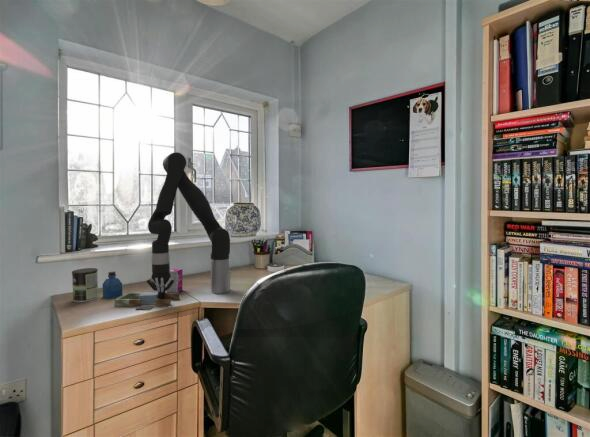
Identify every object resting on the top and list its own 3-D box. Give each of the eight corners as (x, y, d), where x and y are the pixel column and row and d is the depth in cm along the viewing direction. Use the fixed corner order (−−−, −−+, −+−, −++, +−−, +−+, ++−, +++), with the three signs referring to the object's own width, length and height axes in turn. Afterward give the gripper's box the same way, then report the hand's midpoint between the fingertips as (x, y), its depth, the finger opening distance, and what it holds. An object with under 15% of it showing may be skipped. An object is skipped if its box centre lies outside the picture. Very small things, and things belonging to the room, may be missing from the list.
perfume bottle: (109, 298, 149) (108, 274, 149) (103, 296, 153) (102, 272, 152) (122, 295, 155) (121, 271, 154) (115, 293, 158) (115, 270, 157)
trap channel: (183, 296, 153) (183, 290, 153) (165, 310, 133) (165, 303, 133) (133, 295, 153) (133, 290, 153) (108, 309, 133) (108, 303, 133)
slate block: (160, 300, 147) (160, 291, 146) (156, 303, 142) (156, 295, 141) (143, 300, 146) (143, 292, 146) (138, 304, 141) (138, 295, 141)
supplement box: (176, 293, 158) (176, 271, 157) (166, 292, 159) (165, 270, 158) (183, 290, 163) (182, 268, 163) (173, 289, 164) (172, 268, 164)
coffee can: (72, 303, 142) (71, 273, 141) (72, 298, 150) (71, 269, 149) (99, 299, 148) (98, 270, 147) (97, 294, 156) (96, 267, 155)
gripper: (178, 260, 145) (179, 296, 146) (150, 260, 145) (151, 296, 146) (171, 263, 138) (172, 301, 139) (142, 264, 138) (143, 302, 139)
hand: (161, 299), depth 143 cm, fingers closed
